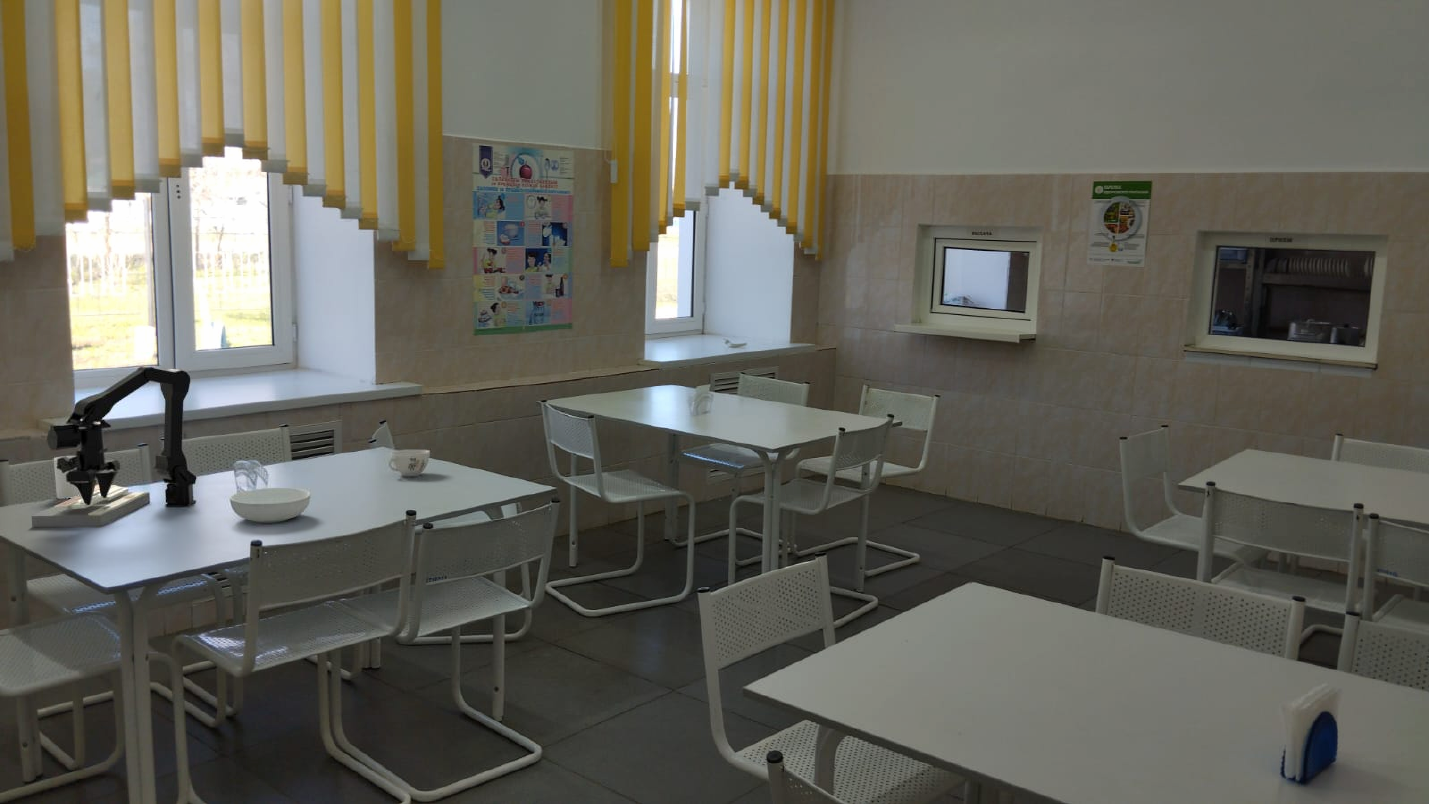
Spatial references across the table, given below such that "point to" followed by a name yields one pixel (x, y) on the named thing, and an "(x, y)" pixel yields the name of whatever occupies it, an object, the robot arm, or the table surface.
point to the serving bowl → (270, 504)
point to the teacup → (409, 461)
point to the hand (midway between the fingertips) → (95, 501)
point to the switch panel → (92, 512)
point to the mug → (64, 483)
